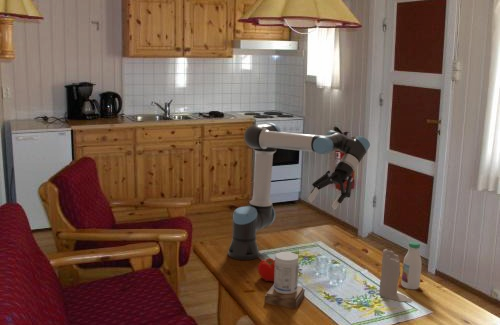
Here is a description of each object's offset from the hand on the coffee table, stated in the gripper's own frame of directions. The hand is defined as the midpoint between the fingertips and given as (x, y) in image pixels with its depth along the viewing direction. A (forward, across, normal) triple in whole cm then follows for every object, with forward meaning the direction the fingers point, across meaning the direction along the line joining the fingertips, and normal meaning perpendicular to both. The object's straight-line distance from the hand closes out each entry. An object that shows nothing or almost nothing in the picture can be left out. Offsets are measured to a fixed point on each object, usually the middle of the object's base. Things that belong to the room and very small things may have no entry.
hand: (321, 204), depth 230 cm
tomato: (+36, +15, -15) cm, 41 cm away
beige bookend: (+13, -30, -38) cm, 50 cm away
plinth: (+41, -4, -9) cm, 43 cm away
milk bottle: (+3, -27, -48) cm, 55 cm away
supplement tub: (+39, -4, -6) cm, 39 cm away
